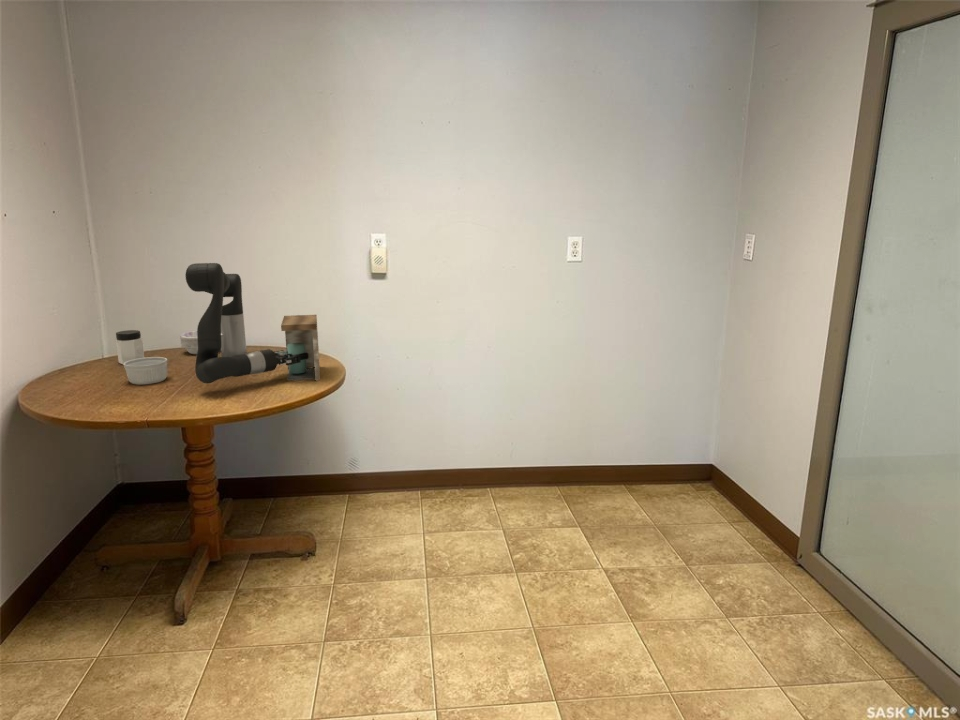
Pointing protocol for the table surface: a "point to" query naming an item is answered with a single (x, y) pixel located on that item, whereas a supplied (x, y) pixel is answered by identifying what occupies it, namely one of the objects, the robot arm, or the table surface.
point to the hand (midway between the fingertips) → (302, 354)
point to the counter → (303, 337)
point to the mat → (302, 375)
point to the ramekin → (146, 370)
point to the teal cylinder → (295, 349)
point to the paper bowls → (190, 342)
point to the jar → (129, 345)
